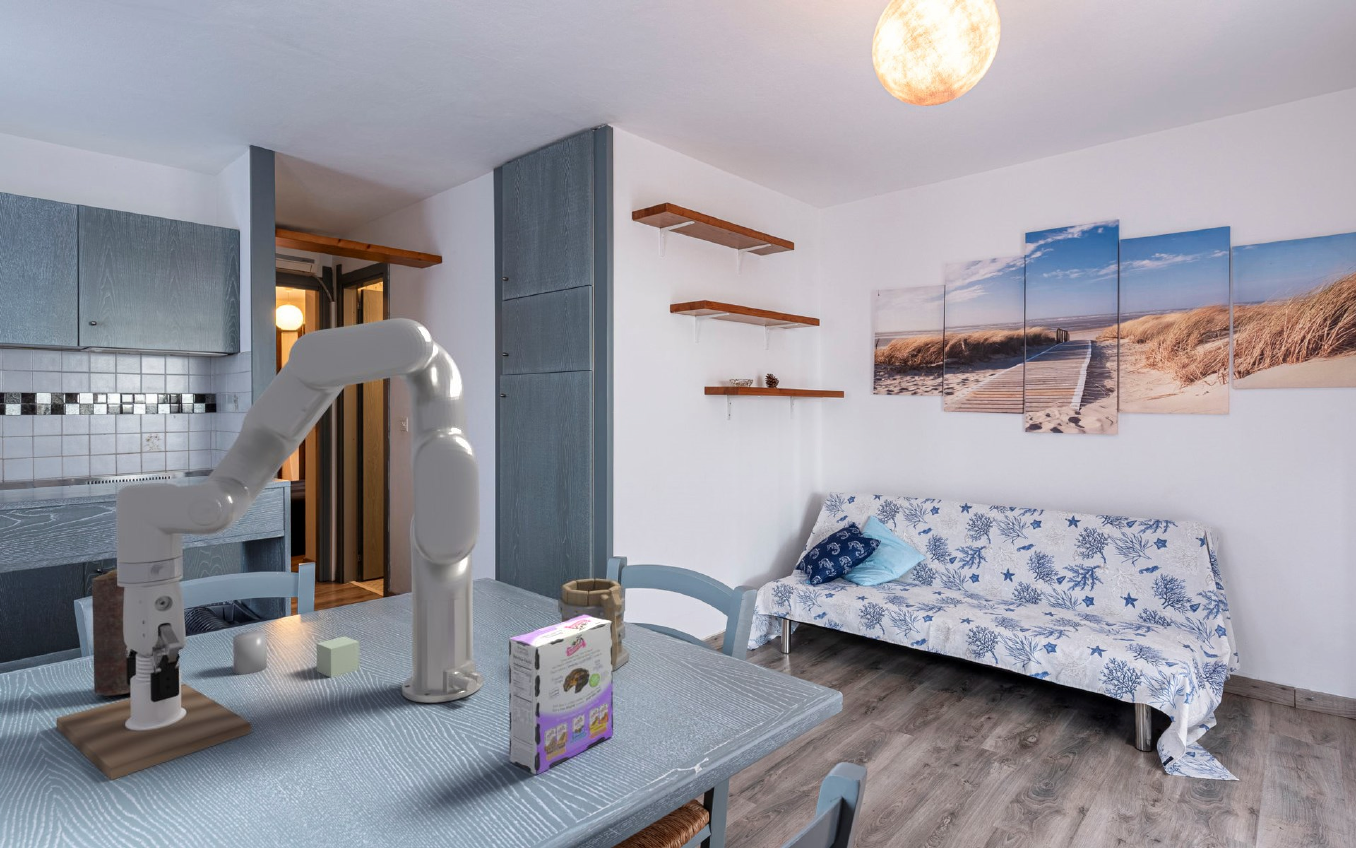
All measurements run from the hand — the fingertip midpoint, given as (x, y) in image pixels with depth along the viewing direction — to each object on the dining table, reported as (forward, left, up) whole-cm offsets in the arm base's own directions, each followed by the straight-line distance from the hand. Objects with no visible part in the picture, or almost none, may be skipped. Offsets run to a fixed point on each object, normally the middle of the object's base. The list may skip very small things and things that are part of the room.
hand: (152, 690), depth 101 cm
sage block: (+2, -28, -6) cm, 29 cm away
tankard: (-34, -56, -6) cm, 66 cm away
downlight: (0, 0, -4) cm, 5 cm away
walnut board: (0, 0, -6) cm, 6 cm away
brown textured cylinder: (+20, -2, -6) cm, 21 cm away
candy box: (-51, -31, -6) cm, 60 cm away
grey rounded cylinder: (+15, -19, -6) cm, 25 cm away
